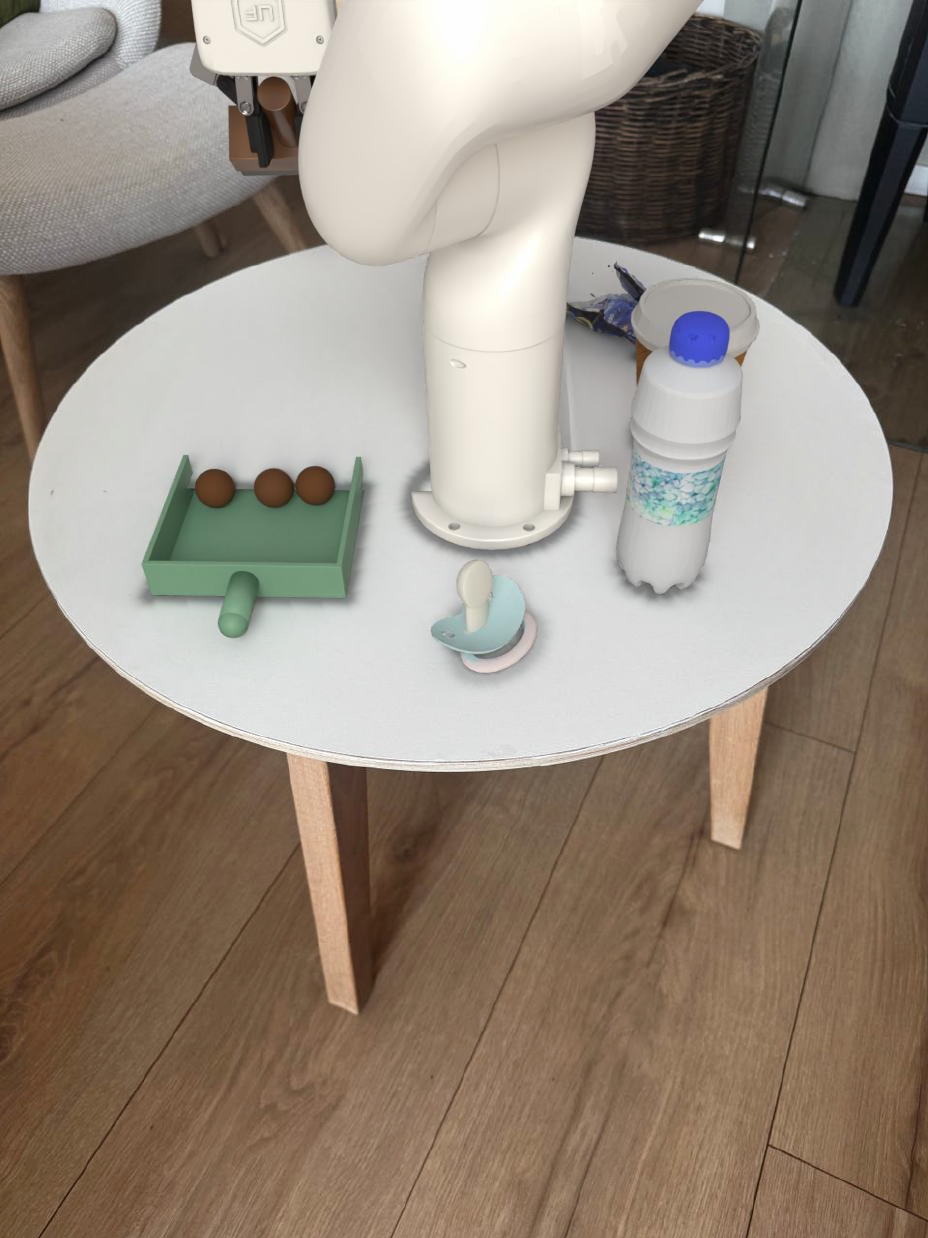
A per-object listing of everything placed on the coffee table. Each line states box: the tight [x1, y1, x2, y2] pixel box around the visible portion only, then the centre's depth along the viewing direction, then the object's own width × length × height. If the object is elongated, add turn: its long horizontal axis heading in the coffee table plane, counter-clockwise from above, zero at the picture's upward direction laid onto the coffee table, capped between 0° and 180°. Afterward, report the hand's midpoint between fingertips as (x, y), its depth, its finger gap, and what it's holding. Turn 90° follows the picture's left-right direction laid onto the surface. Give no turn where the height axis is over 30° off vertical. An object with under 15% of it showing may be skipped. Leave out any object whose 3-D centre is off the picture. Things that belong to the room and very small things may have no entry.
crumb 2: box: [253, 467, 295, 508], centre depth 76 cm, size 3×3×3 cm
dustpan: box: [141, 454, 365, 639], centre depth 71 cm, size 17×14×3 cm
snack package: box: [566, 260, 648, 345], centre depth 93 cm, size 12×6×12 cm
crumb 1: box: [194, 468, 236, 508], centre depth 76 cm, size 3×3×3 cm
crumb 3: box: [294, 465, 336, 505], centre depth 76 cm, size 3×3×3 cm
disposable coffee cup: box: [631, 277, 761, 387], centre depth 78 cm, size 10×10×12 cm
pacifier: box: [430, 559, 538, 674], centre depth 64 cm, size 7×6×6 cm
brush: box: [227, 76, 299, 177], centre depth 81 cm, size 10×4×10 cm
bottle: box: [615, 311, 744, 595], centre depth 64 cm, size 7×7×20 cm
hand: (286, 159), depth 80 cm, fingers closed on brush, 2 cm apart
